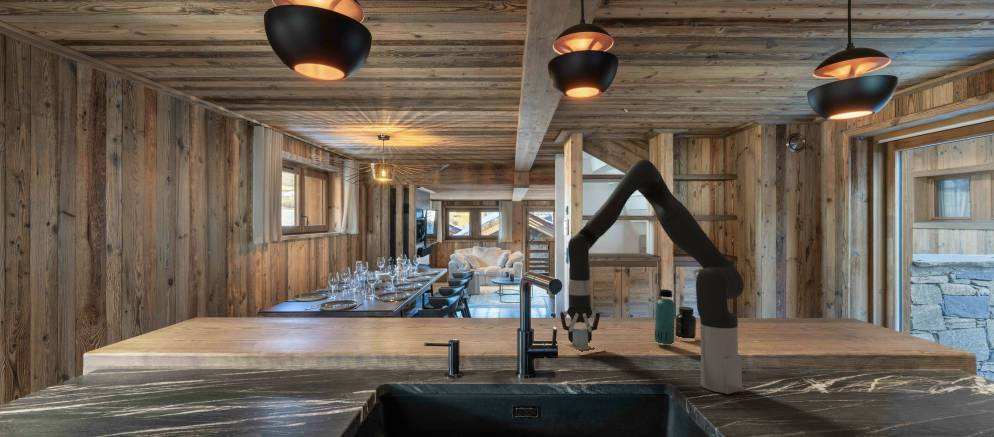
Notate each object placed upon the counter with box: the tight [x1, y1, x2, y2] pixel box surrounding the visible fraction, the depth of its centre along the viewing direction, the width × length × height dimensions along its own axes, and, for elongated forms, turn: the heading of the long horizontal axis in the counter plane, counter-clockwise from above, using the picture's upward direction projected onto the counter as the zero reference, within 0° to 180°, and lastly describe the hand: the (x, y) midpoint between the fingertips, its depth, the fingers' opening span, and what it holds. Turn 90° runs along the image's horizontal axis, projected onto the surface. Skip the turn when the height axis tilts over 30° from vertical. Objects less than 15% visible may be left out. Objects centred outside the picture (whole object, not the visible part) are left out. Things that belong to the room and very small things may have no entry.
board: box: [559, 340, 595, 352], centre depth 152 cm, size 12×10×5 cm
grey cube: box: [572, 326, 588, 347], centre depth 152 cm, size 5×5×5 cm
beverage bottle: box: [654, 288, 676, 345], centre depth 154 cm, size 6×7×20 cm
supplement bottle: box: [674, 306, 697, 339], centre depth 162 cm, size 7×7×12 cm
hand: (579, 341), depth 152 cm, fingers closed on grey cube, 5 cm apart
